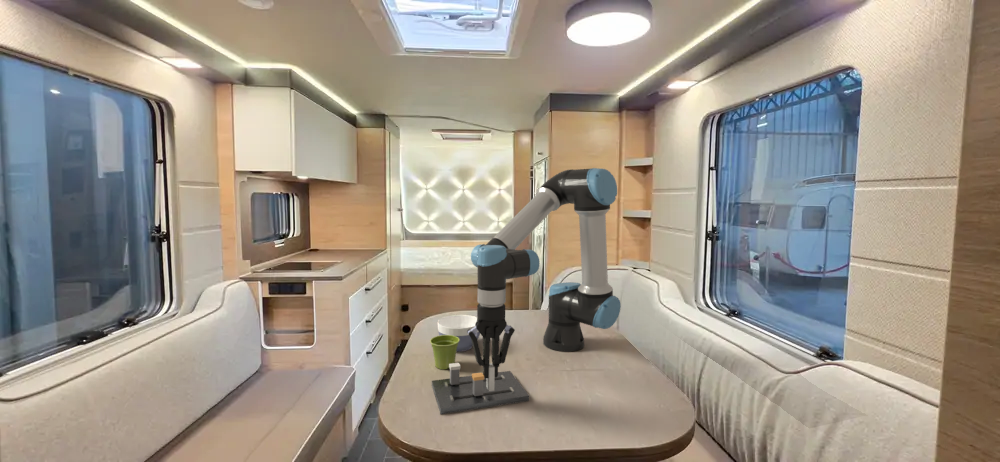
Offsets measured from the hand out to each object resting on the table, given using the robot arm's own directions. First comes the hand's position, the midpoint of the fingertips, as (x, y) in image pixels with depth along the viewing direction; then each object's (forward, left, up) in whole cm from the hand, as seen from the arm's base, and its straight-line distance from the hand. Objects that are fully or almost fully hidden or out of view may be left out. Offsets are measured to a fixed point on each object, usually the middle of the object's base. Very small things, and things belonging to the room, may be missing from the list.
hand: (490, 388), depth 109 cm
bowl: (0, -40, -3) cm, 40 cm away
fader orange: (+3, 0, -1) cm, 4 cm away
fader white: (+8, -8, -1) cm, 12 cm away
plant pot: (+8, -25, -3) cm, 26 cm away
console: (+2, -4, -3) cm, 5 cm away
